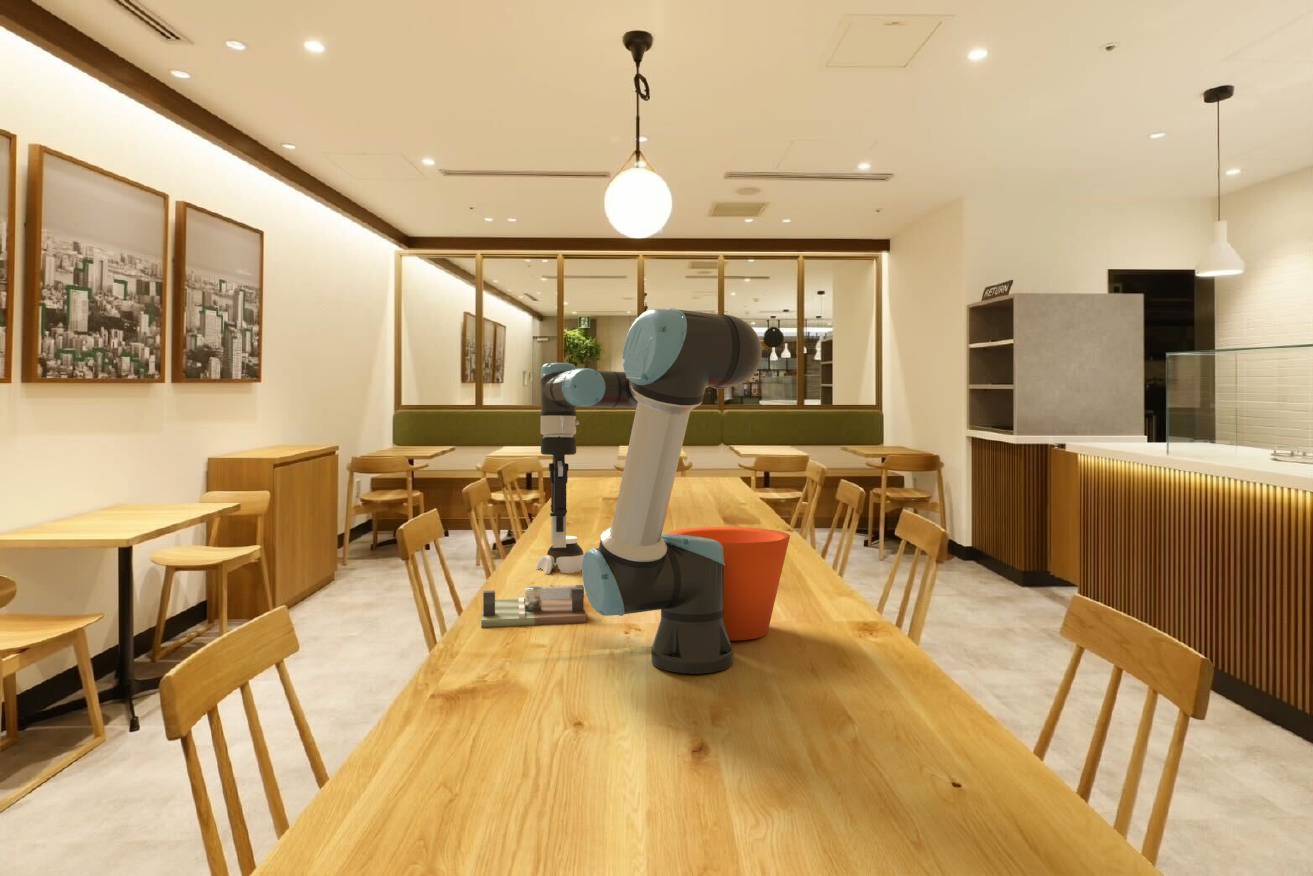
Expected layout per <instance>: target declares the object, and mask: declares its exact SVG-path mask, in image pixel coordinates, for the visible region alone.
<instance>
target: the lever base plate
mask: <svg viewBox="0 0 1313 876" xmlns="http://www.w3.org/2000/svg"><path fill="white" fill-rule="evenodd" d="M482 594H483V599H482V600H483V601H482V603H483V606H482V607H483V608H482V614H481V619H480V623H481V624H480V626H481V628H491V627H492V628H493V627H494V628H496V627H511V626H512V627H516V626H537V625H538V626H539V625H540V626H541V625H556V624H557V625H558V624H559V625H560V624H580V623H581V624H582V623H587V613H586V611H585V608H584V599H585V588H584V589H583V587H575V588H572V599H547V600H542V609H541V610H536V611H529V610H526V609H525V596H524V595H525V594H518V598H516V599H515V598H514V599H513V598H512V599H509V598H508V599H496V590H495V589H494V590H483V593H482Z"/></svg>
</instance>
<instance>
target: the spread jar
mask: <svg viewBox="0 0 1313 876" xmlns="http://www.w3.org/2000/svg"><path fill="white" fill-rule="evenodd" d="M578 543H579V542H578V537H577V536H573V535H566V547H561V548H553V544H552V545H551V546H550V547H549V548H548V550H547V553H546V555H543V556H540V558H539V559H538V561H537V563H536V566H535V570H536V569H537V570H541V569H543V570H545V571H546V572H545V571H544V575H549V574H551V572H553V571H556V572H555V573H559V572H561V573H562V574H574V573H575V572H576V573H579V572H582V571H581V570H582V561H583V557H584V554H585V553H584V550H583V548H582V547H581V546H580V545H579V544H578ZM540 568H541V569H540ZM543 570H542V571H543ZM561 573H560V574H561Z"/></svg>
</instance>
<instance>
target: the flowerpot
mask: <svg viewBox="0 0 1313 876" xmlns="http://www.w3.org/2000/svg"><path fill="white" fill-rule="evenodd" d="M668 534H676V535H686V536H695V537H702V538H708V539H713V540H716V541H718V542H719V543H720V544H721V545H722V547H723V553H724V563H725V566H724V623H725V626H726V629H727V632H728V636H729V639H730V641H748V640H754V639H759V638H762V637H764V636H766V635H767V634H768V632H769V628H770V624H771V619H772V616H773V612H774V611H773V610H774V608H775V607H774V605H775V602H776V598H777V594H778V590H779V585H780V581H781V575H782V573H783V567H784V563H785V559H786V555H787V550H788V546H789V542H790V538H791V535H790V534H789V533H787V532H784V531H780V530H775V529H768V528H767V529H766V528H757V527H741V526H709V527H708V526H707V527H705V526H704V527H690V528H682V529H675V530H672V531H670V532H669V533H668Z"/></svg>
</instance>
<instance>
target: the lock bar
mask: <svg viewBox="0 0 1313 876" xmlns="http://www.w3.org/2000/svg"><path fill="white" fill-rule="evenodd" d="M575 587H583V589H584V590H585V587H584V584H575V585H573V584H572V585H554V586H553V585H552V586H551V585H549V586H548V585H547V586H545V585H544V586H535V585H534V586H533V585H532V586H527V587H525V589H524V593H525V594H524V595H525V596H524V599H525V609H526V610H529V611H536V610H541V609H542V600H547V599H572V588H575Z"/></svg>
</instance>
